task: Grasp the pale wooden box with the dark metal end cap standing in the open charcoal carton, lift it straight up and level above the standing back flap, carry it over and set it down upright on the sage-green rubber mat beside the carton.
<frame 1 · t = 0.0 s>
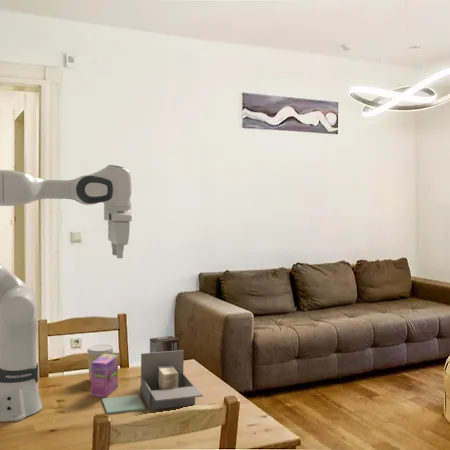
hand: (117, 256, 180), 48 cm above the table, tool pointing down, fingers open, 8 cm apart
box: (104, 392, 189), on the table
capped box: (167, 384, 183), in the carton
carton: (167, 398, 183), on the table
coffee box: (164, 382, 200), on the table
mat: (123, 404, 177), on the table
coffee cup: (100, 380, 201), on the table
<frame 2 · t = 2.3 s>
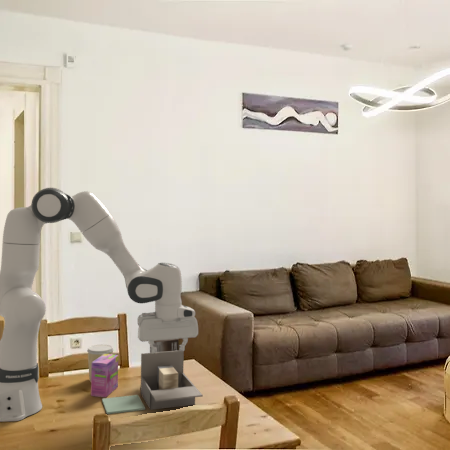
hand: (168, 351, 183), 16 cm above the table, tool pointing down, fingers open, 8 cm apart
nothing on the table moved.
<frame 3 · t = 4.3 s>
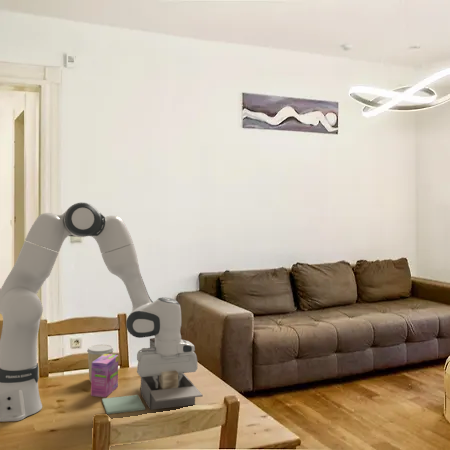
hand: (167, 386, 183), 4 cm above the table, tool pointing down, fingers closed on capped box, 5 cm apart
capped box: (167, 384, 183), in the carton, touching gripper
everything else where it was.
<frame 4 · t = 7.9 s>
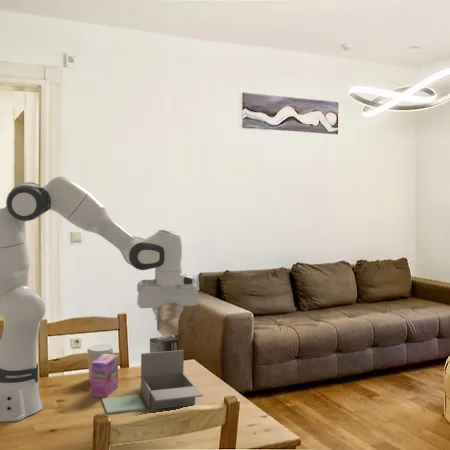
hand: (167, 319, 182), 27 cm above the table, tool pointing down, fingers closed on capped box, 5 cm apart
capped box: (167, 317, 182), point 28 cm above the table, touching gripper
everything else where it was.
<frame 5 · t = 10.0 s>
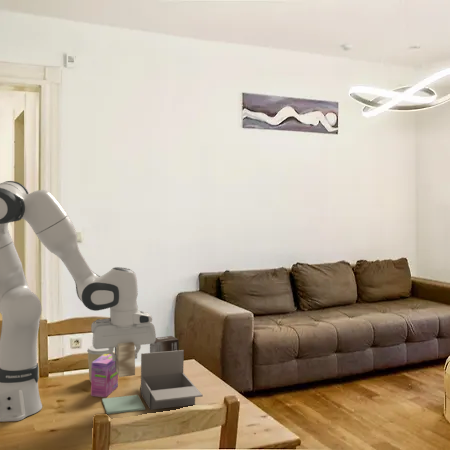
hand: (124, 359, 177), 15 cm above the table, tool pointing down, fingers closed on capped box, 5 cm apart
capped box: (124, 356, 176), point 16 cm above the table, touching gripper
everything else where it was.
when the fingers open (6 cm above the table, at t = 11.8 s): capped box drops 2 cm, resting on mat.
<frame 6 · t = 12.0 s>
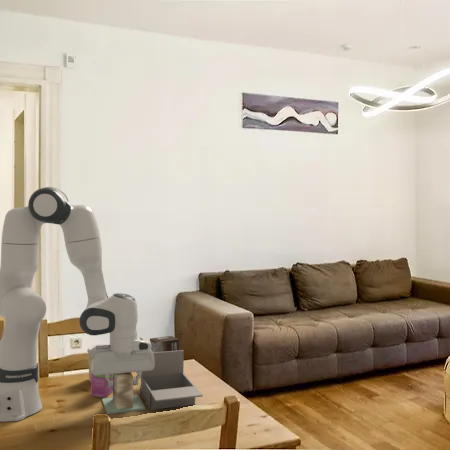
hand: (123, 385, 177), 6 cm above the table, tool pointing down, fingers open, 7 cm apart
capped box: (122, 388, 177), on the mat, point 6 cm above the table
everything else where it was.
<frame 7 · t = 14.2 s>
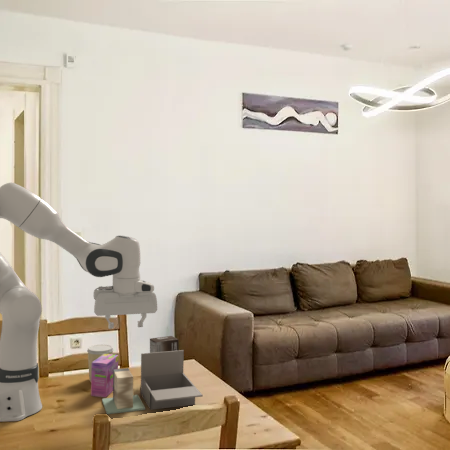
hand: (125, 327, 177), 25 cm above the table, tool pointing down, fingers open, 8 cm apart
nothing on the table moved.
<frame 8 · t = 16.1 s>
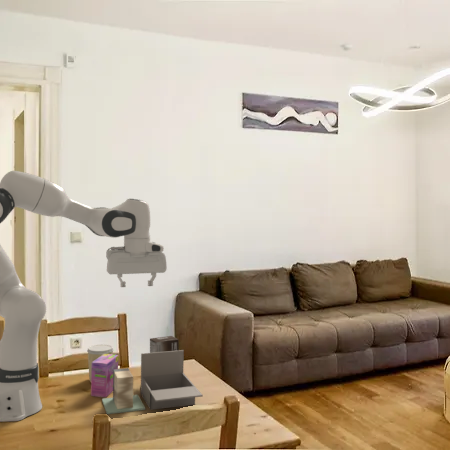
hand: (136, 286, 187), 37 cm above the table, tool pointing down, fingers open, 8 cm apart
nothing on the table moved.
at the end: capped box inside the target area on the mat (0.1 cm from its centre), point 5.6 cm above the mat's base; capped box tilted 0°; the gripper is holding nothing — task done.
